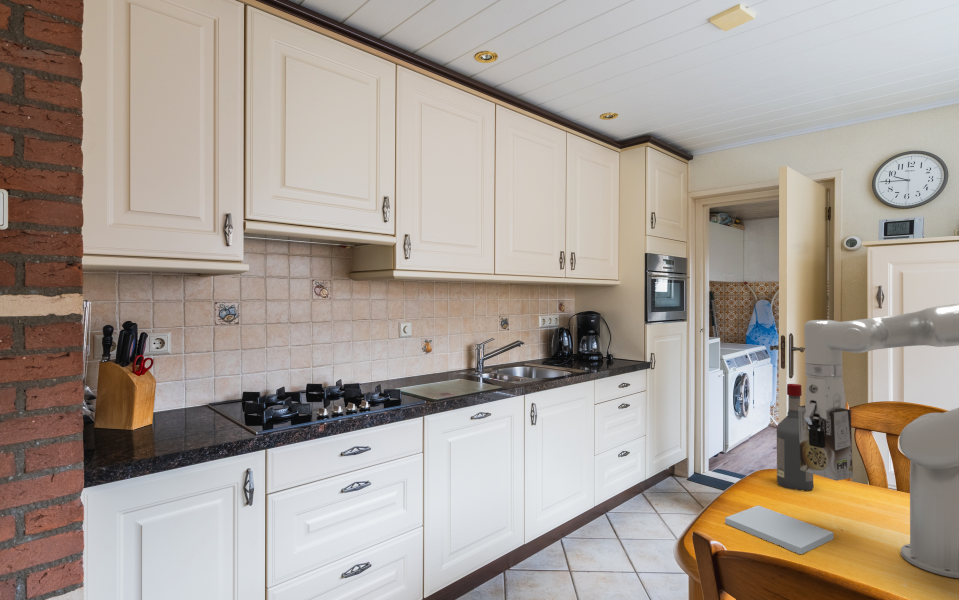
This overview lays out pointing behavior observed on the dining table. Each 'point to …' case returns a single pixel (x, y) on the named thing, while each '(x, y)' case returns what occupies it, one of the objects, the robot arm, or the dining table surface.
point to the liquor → (791, 446)
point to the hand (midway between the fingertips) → (825, 443)
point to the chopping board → (780, 529)
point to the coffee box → (828, 446)
